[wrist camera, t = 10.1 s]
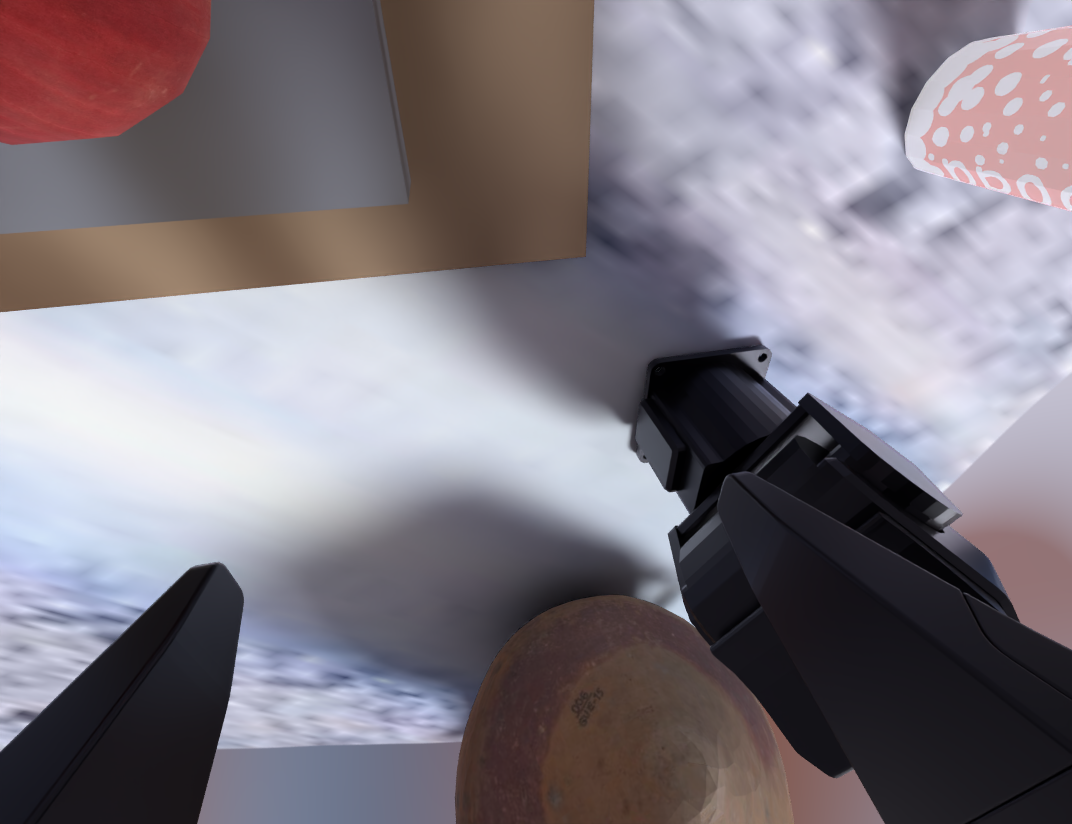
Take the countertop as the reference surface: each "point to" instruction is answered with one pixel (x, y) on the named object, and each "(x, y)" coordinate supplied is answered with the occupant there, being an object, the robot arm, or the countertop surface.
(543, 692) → the jug
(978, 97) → the beverage cup
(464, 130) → the stacking base
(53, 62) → the onion
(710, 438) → the robot arm
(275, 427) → the countertop surface
